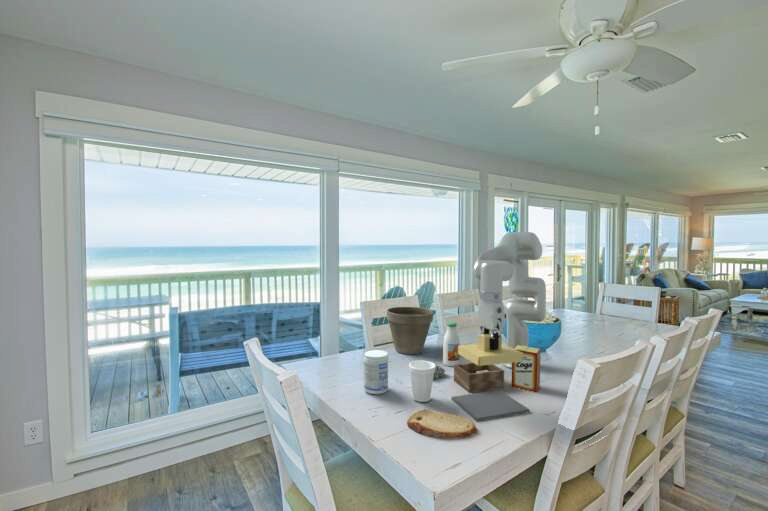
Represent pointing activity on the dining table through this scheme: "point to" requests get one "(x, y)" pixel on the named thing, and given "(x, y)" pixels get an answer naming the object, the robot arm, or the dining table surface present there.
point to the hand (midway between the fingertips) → (490, 347)
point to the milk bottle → (451, 345)
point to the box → (478, 377)
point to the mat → (489, 405)
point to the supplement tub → (376, 372)
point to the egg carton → (438, 372)
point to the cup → (422, 379)
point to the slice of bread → (441, 425)
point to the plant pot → (409, 328)
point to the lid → (489, 352)
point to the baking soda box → (527, 369)
